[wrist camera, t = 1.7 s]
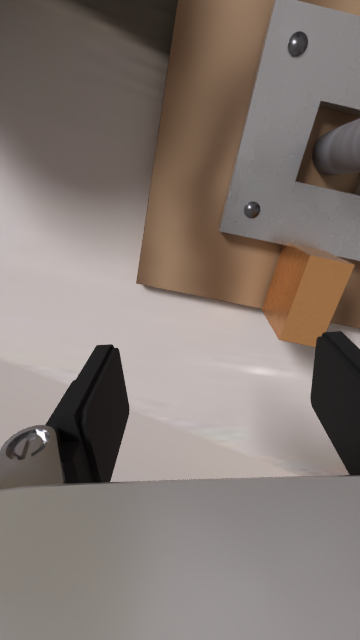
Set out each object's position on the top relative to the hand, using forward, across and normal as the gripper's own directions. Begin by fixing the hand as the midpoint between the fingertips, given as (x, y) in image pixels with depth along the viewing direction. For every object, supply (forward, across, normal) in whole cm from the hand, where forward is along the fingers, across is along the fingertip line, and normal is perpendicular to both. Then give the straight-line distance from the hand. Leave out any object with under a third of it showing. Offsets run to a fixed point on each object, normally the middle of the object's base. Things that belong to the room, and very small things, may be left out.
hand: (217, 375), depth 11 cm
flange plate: (+16, -9, -5) cm, 19 cm away
